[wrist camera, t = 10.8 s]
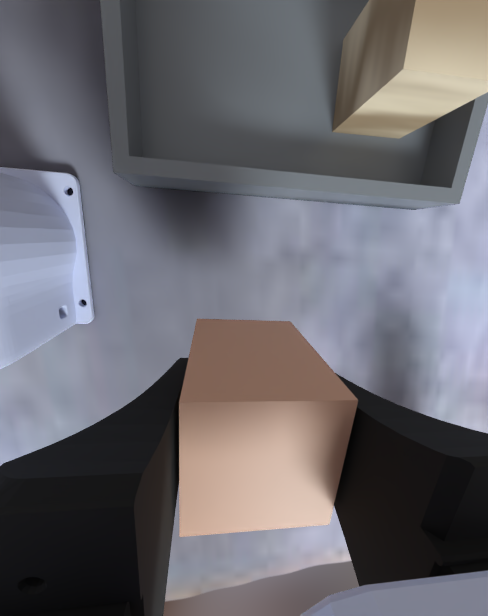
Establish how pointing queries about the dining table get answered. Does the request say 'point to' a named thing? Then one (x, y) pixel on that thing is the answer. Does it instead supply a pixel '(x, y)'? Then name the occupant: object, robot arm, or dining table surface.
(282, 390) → the terracotta block
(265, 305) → the dining table surface
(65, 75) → the dining table surface
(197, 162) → the slate tray
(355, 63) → the beech block
